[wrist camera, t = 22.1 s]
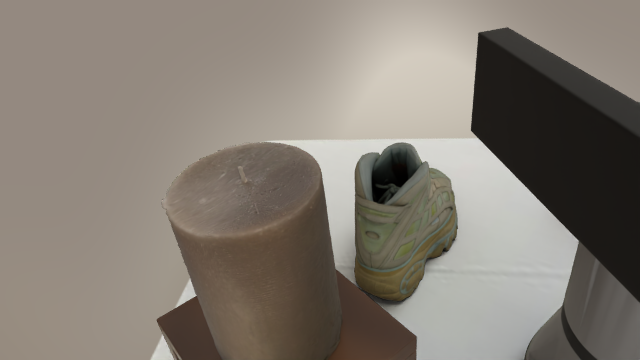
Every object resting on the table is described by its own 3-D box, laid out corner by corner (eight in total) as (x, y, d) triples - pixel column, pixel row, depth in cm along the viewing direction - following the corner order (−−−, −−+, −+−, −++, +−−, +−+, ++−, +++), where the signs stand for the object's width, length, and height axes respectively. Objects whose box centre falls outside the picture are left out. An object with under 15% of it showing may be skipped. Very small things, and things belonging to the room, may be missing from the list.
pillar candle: (364, 351, 35) (349, 180, 27) (232, 409, 33) (168, 241, 24) (314, 265, 43) (289, 109, 34) (203, 306, 40) (146, 150, 32)
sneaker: (495, 219, 60) (495, 107, 52) (400, 322, 50) (382, 202, 42) (420, 194, 68) (410, 92, 60) (323, 280, 57) (295, 170, 49)
